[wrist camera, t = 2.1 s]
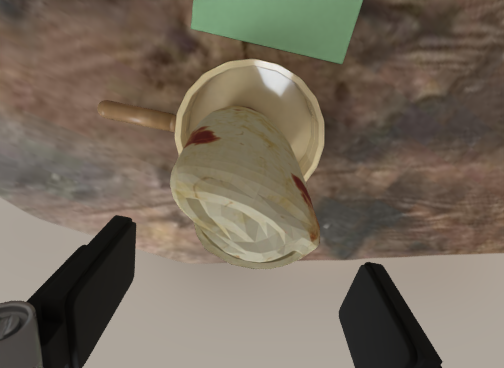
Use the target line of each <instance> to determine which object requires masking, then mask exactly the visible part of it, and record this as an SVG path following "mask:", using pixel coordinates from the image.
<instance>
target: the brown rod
mask: <svg viewBox="0 0 504 368" xmlns="http://www.w3.org/2000/svg"><path fill="white" fill-rule="evenodd" d="M98 112H99V114H100V115H101V116H102V117H104V118H107V119H112V120H117V121H122V122H127V123H132V124H137V125H141V126H146V127H151V128H156V129H161V130H166V131H170V132H175V128H176V117H177V115H175V114H171V113H166V112H161V111H157V110H152V109H147V108H142V107H138V106H133V105H128V104H123V103H119V102H114V101H109V100H104V101H101V102H100V103H99V105H98Z"/></svg>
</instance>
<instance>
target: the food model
mask: <svg viewBox="0 0 504 368" xmlns="http://www.w3.org/2000/svg"><path fill="white" fill-rule="evenodd" d="M170 186H171V190H172V194H173V198H174V200H175V201H176V203H177V204H178V206H179V208H180V209H181V210H182V211H183V212H184V213H185V214H186V215H187V216H188V217H189V218H191V219H192V220H193V221H194V226H195V230H196V234H197V237H198V238H199V240H200V241H201V243H202V245H203V246H204V248H205V249H206V250H207V251H209V252H211V253H212V254H214V255H216V256H218V257H219V258H221V259H223V260H225V261H226V262H228V263H230V264H231V265H236V266H241V267H247V268H251V269H272V268H276V267H281V266H284V265H288V264H290V263H292V262H294V261H297V260H299V259H301V258H302V257H304V256H305V255H307V254H308V253H310V252H311V251H312V250H314V249H315V248H317V246H318V245H319V243H320V227H319V224H318V221H317V218H316V215H315V212H314V210H313V206H312V203H311V199H310V196H309V192H308V189H307V185H306V182H305V180H304V177H303V174H302V172H301V169H300V167H299V164H298V162H297V159H296V157H295V154H294V152H293V150H292V148H291V146H290V144H289V142H288V141H287V139H286V138H285V136H284V135H283V133H282V132H281V131H280V130H279V128H278V127H277V126H276V125H275V123H274V122H273V121H271V120H270V119H269V118H267V117H266V116H265V115H263V114H262V113H260V112H258V111H256V110H254V109H252V108H250V107H244V106H228V107H224V108H221V109H218V110H216V111H213V112H211V113H210V114H209V115H208V116H206V117H205V118H204V119H203V120H201V121H200V122H199V124H198V125H197V126H196V128H195V129H194V130H193V132H192V133H191V135H190V137H189V139H188V141H187V143H186V145H185V147H184V148H183V150H182V152H181V154H180V156H179V158H178V160H177V162H176V164H175V166H174V168H173V170H172V173H171V180H170Z"/></svg>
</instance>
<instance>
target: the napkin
mask: <svg viewBox="0 0 504 368" xmlns="http://www.w3.org/2000/svg"><path fill="white" fill-rule="evenodd" d="M362 1H363V0H194V1H193V11H192V21H191V29H194V30H199V31H203V32H207V33H211V34H216V35H220V36H224V37H228V38H232V39H237V40H241V41H245V42H249V43H254V44H258V45H262V46H266V47H270V48H275V49H279V50H283V51H287V52H292V53H296V54H300V55H304V56H308V57H313V58H317V59H321V60H325V61H330V62H334V63H338V64H342V63H343V60H344V57H345V54H346V51H347V48H348V45H349V42H350V39H351V36H352V32H353V29H354V26H355V23H356V20H357V17H358V14H359V11H360V8H361V4H362Z"/></svg>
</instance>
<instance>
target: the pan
mask: <svg viewBox="0 0 504 368" xmlns="http://www.w3.org/2000/svg"><path fill="white" fill-rule="evenodd" d="M228 106H244V107H250V108H252V109H254V110H256V111H258V112H260V113H262V114H263V115H265V116H266V117H267V118H269V119H270V120H271V121H273V122H274V123H275V125H276V126H277V127H278V128H279V130H280V131H281V132H282V133H283V135H284V136H285V138H286V139H287V141H288V142H289V144H290V146H291V148H292V150H293V152H294V154H295V157H296V159H297V162H298V164H299V167H300V169H301V172H302V174H303V177H304V180H305V182H306V181H307V180H308V178H309V177H310V176H311V174H312V173H313V171H314V170H315V169H316V167H317V165H318V162H319V159H320V156H321V153H322V150H323V147H324V119H323V116H322V113H321V110H320V107H319V104H318V101H317V99H316V97H315V96H314V94H313V93H312V92H311V91H310V89H309V88H308V87H307V85H306V84H305V83H304V82H303V80H302V79H301V78H299V77H298V76H296V75H295V74H293V73H292V72H290V71H289V70H287V69H286V68H284V67H282V66H281V65H279V64H275V63H271V62H266V61H262V60H258V59H246V60H237V61H229V62H226V63H224V64H222V65H220V66H218V67H216V68H214V69H212V70H210V71H208V72H206V73H204V74H203V75H202V76H201V77H200V78H199V79H198V80H197V81H196V82H195V83H194V84H193V86H192V87H191V88H190V89H189V90H188V91H187V92H186V94H185V97H184V99H183V101H182V103H181V105H180V108H179V110H178V112H177V117H176V128H175V141H176V145H177V150H178V154H179V156H180V154H181V152H182V150H183V148H184V147H185V145H186V143H187V141H188V139H189V137H190V135H191V133H192V132H193V130H194V129H195V128H196V126H197V125H198V124H199V122H200V121H201V120H203V119H204V118H205V117H206V116H208V115H209V114H210V113H211V112H213V111H216V110H218V109H221V108H224V107H228Z"/></svg>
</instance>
